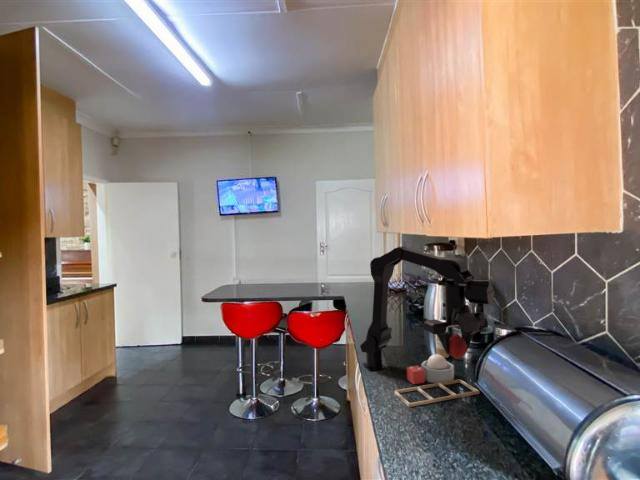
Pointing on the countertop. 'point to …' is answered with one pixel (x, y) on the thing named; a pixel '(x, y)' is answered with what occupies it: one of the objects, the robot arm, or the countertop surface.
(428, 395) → the wooden frame with crossbars
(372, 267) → the robot arm
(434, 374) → the dome base
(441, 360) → the dome
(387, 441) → the countertop surface
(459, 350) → the onion
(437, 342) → the sprinkles bottle
